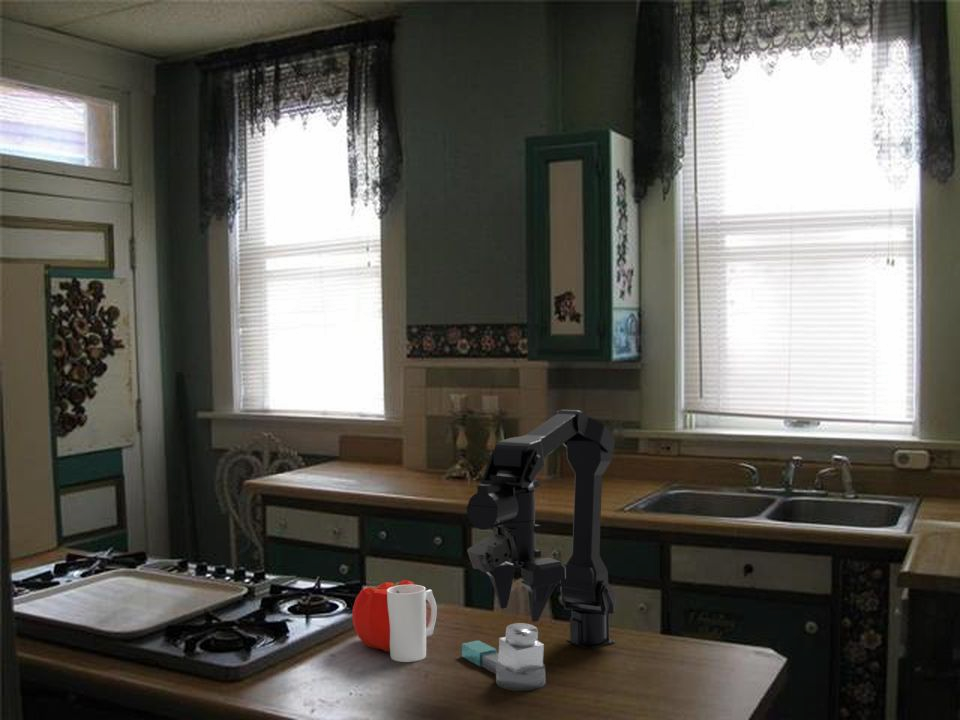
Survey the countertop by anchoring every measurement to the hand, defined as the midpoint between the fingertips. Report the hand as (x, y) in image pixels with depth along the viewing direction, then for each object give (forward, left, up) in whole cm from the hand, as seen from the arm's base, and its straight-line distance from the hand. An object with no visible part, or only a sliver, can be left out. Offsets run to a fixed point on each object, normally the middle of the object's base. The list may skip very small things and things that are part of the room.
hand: (518, 614), depth 163 cm
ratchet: (0, 0, -11) cm, 11 cm away
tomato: (+9, -28, -11) cm, 32 cm away
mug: (+8, -22, -11) cm, 26 cm away
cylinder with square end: (0, 0, -8) cm, 8 cm away
